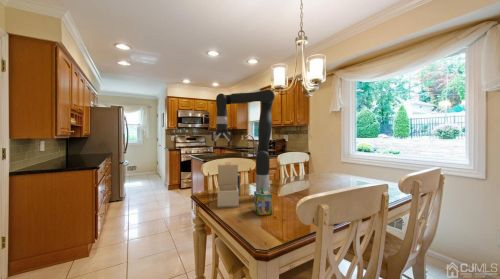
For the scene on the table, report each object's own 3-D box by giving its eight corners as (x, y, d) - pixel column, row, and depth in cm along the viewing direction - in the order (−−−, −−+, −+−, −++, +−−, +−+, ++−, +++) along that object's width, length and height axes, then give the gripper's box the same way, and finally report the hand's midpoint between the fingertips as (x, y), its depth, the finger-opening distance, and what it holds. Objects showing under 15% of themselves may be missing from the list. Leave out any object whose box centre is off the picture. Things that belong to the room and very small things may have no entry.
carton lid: (237, 184, 147) (237, 180, 153) (237, 164, 144) (237, 161, 149) (218, 185, 146) (218, 181, 152) (217, 165, 142) (218, 161, 148)
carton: (237, 199, 148) (237, 184, 148) (238, 206, 134) (238, 191, 133) (218, 199, 147) (218, 185, 147) (217, 207, 132) (217, 191, 132)
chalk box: (272, 214, 121) (272, 188, 121) (256, 215, 120) (256, 189, 119) (268, 208, 130) (268, 184, 130) (253, 209, 129) (253, 185, 128)
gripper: (232, 123, 153) (232, 146, 153) (211, 123, 151) (211, 146, 152) (232, 123, 145) (232, 147, 146) (211, 123, 144) (211, 147, 144)
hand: (222, 146), depth 149 cm, fingers open, 8 cm apart
